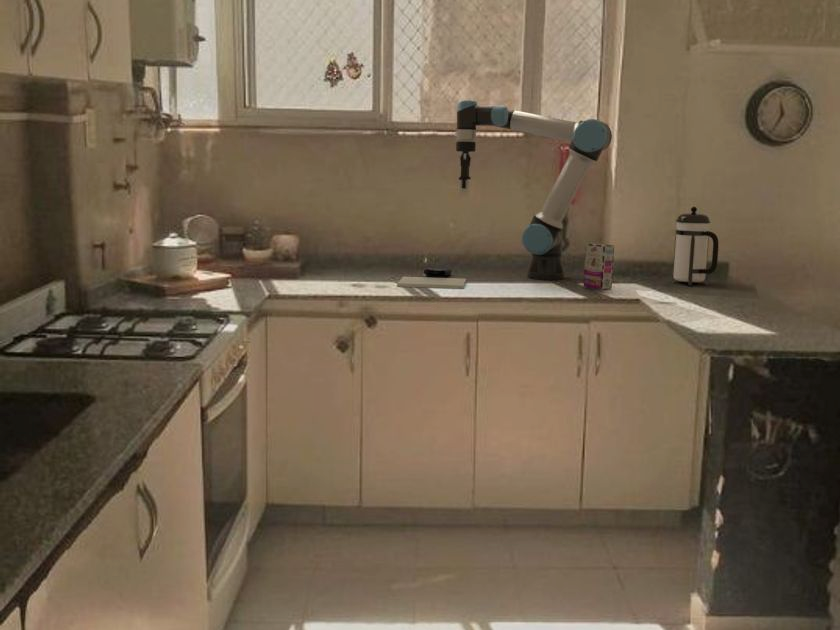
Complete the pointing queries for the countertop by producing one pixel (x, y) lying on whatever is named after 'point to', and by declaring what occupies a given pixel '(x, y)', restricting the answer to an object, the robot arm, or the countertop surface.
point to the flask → (437, 272)
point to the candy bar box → (598, 266)
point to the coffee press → (693, 248)
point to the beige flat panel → (432, 282)
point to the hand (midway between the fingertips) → (464, 196)
